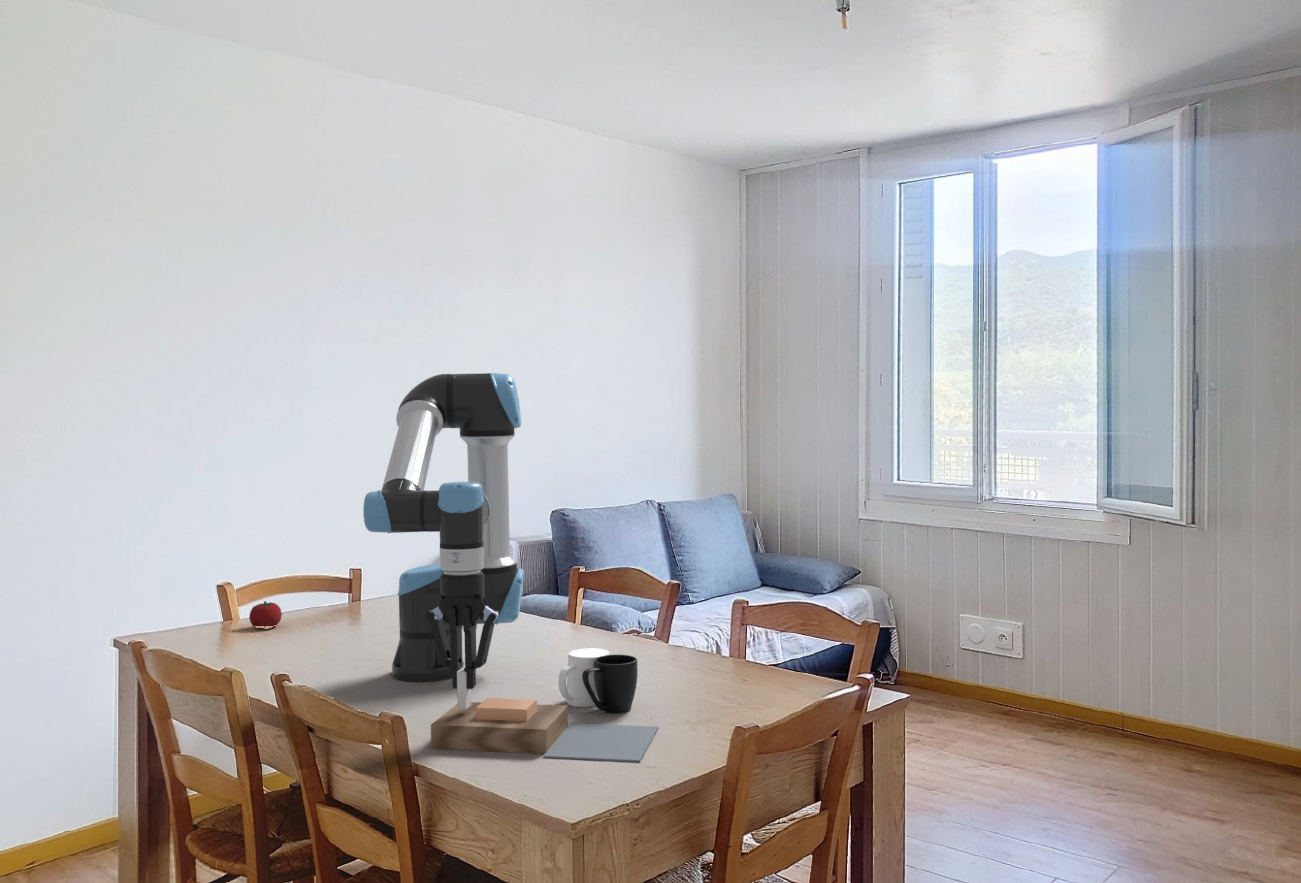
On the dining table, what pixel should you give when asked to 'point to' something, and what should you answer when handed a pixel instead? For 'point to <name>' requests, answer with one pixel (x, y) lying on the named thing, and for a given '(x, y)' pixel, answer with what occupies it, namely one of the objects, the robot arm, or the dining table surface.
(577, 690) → the mug
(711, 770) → the dining table surface
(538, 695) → the dining table surface
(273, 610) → the tomato
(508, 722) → the block
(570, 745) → the mat
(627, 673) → the mug
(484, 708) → the tile
